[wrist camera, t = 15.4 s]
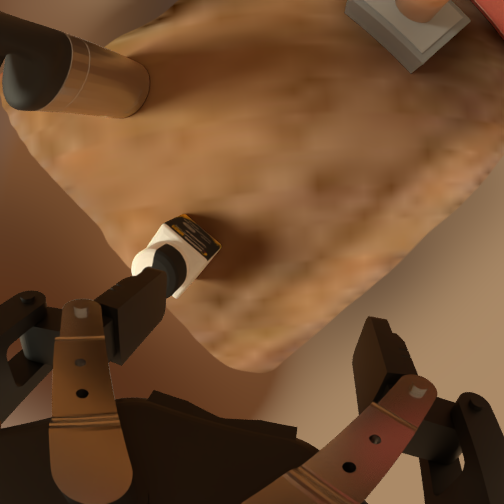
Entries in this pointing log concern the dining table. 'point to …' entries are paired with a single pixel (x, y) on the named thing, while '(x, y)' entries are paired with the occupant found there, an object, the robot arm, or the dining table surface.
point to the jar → (420, 9)
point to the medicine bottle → (177, 253)
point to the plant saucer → (492, 13)
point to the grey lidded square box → (407, 29)
